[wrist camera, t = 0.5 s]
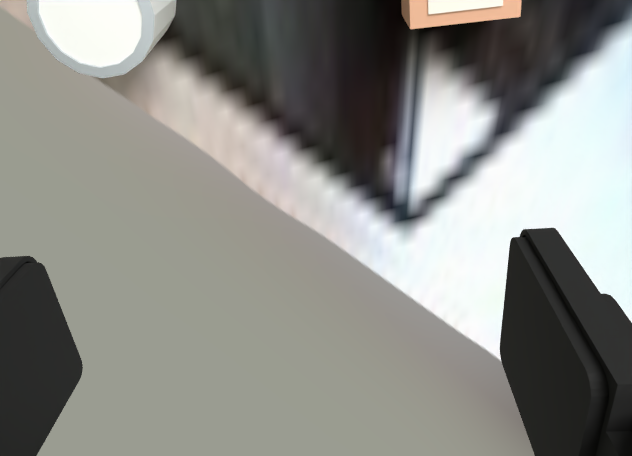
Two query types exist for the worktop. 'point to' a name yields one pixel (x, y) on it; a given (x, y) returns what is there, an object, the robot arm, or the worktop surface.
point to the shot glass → (100, 32)
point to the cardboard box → (456, 11)
